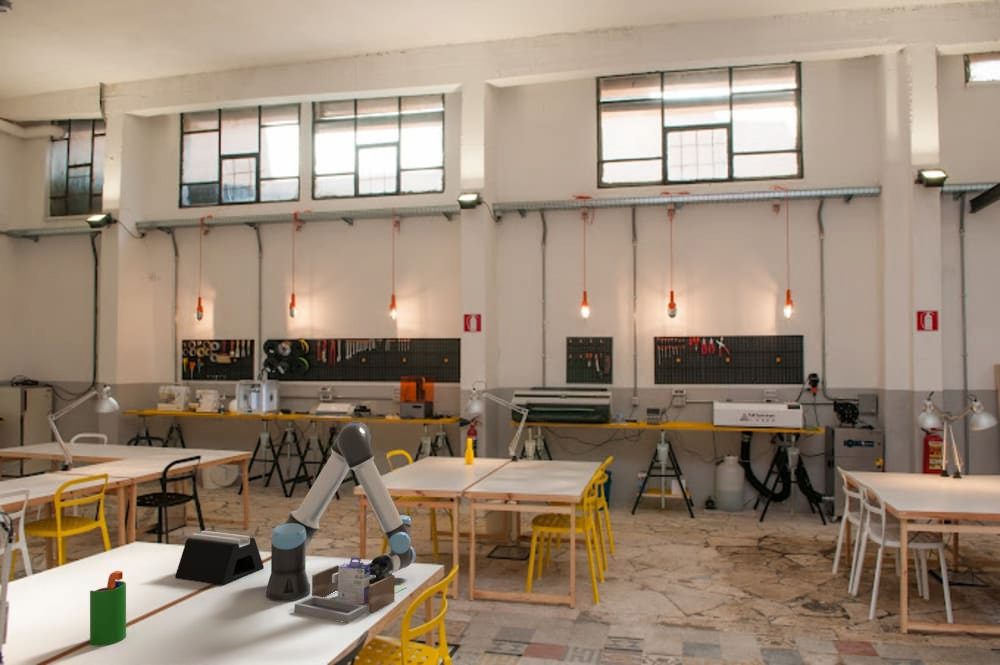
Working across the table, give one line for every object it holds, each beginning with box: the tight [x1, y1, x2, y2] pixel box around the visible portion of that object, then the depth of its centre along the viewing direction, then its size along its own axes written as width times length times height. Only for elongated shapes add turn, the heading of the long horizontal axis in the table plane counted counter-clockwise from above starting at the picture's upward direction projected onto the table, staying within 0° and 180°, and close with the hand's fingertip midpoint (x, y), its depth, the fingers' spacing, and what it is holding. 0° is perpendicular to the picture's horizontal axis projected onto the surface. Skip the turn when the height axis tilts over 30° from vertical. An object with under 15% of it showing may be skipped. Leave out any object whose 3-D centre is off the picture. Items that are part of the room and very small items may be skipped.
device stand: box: [174, 530, 264, 586], centre depth 286 cm, size 22×22×15 cm
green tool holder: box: [89, 570, 127, 647], centre depth 222 cm, size 10×9×20 cm
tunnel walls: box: [311, 564, 396, 615], centre depth 255 cm, size 25×13×9 cm, turn 63°
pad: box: [394, 584, 407, 595], centre depth 268 cm, size 16×12×1 cm
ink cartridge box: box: [337, 557, 371, 605], centre depth 255 cm, size 10×6×14 cm, turn 78°
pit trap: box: [294, 595, 367, 624], centre depth 244 cm, size 22×9×2 cm, turn 63°
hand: (347, 581), depth 252 cm, fingers open, 12 cm apart
